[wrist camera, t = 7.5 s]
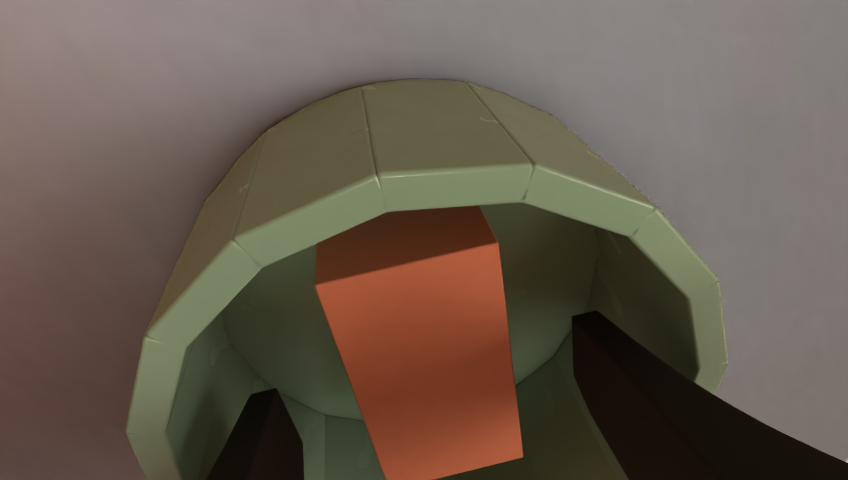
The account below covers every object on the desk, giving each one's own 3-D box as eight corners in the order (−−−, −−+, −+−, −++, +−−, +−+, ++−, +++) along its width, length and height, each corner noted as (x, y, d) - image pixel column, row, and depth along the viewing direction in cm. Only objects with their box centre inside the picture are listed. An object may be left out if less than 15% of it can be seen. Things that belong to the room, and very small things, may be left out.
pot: (240, 445, 18) (210, 621, 14) (137, 89, 12) (14, 196, 7) (578, 403, 20) (652, 547, 15) (652, 68, 13) (820, 145, 9)
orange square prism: (490, 363, 17) (523, 457, 14) (378, 391, 17) (389, 491, 14) (461, 170, 14) (498, 242, 10) (317, 203, 13) (313, 285, 10)
